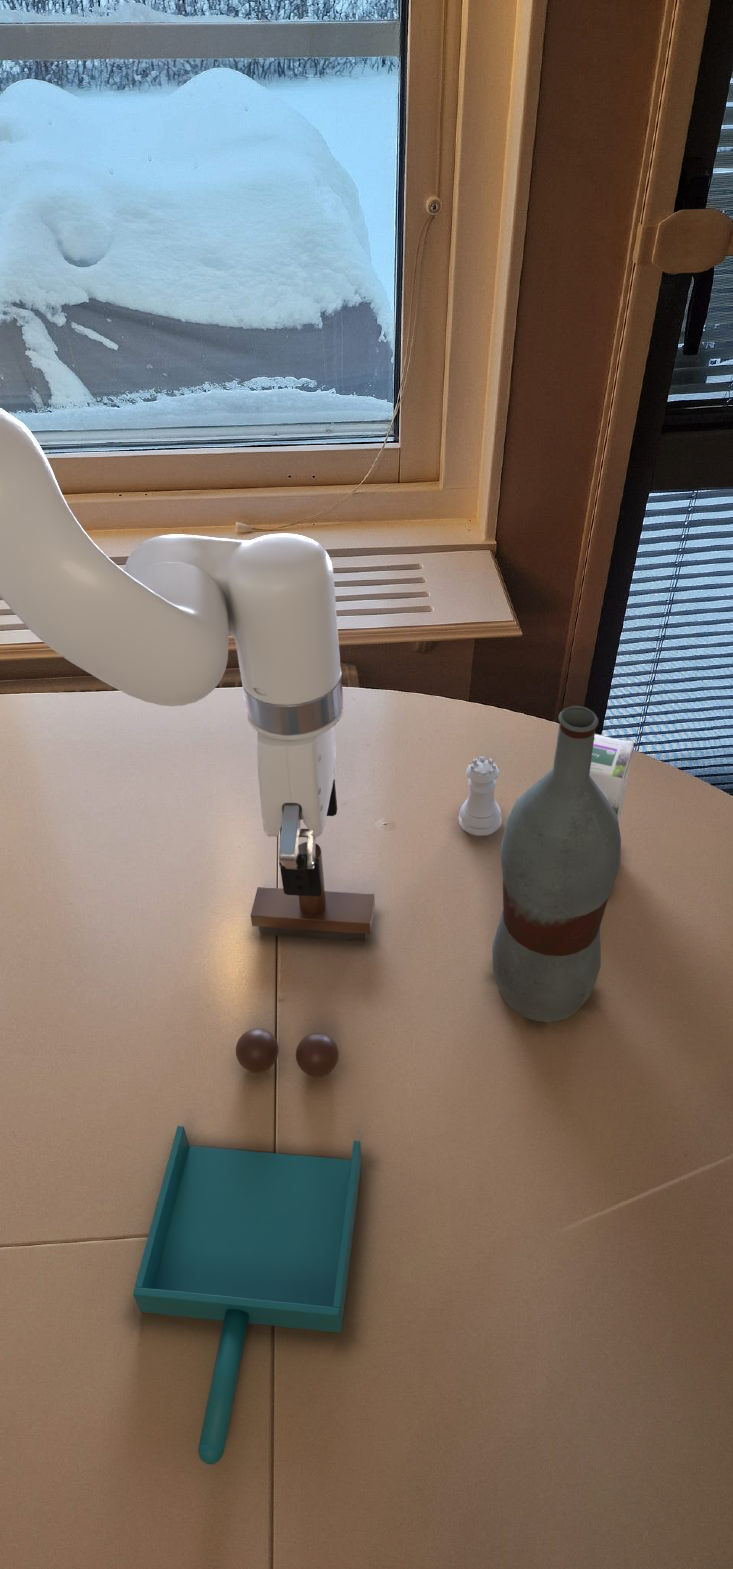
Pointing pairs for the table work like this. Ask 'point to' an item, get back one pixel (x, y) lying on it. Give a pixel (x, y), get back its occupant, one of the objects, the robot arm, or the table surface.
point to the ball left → (257, 1050)
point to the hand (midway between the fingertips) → (311, 851)
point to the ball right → (317, 1054)
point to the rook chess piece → (481, 799)
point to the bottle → (556, 881)
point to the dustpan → (248, 1252)
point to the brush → (313, 912)
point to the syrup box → (611, 768)
